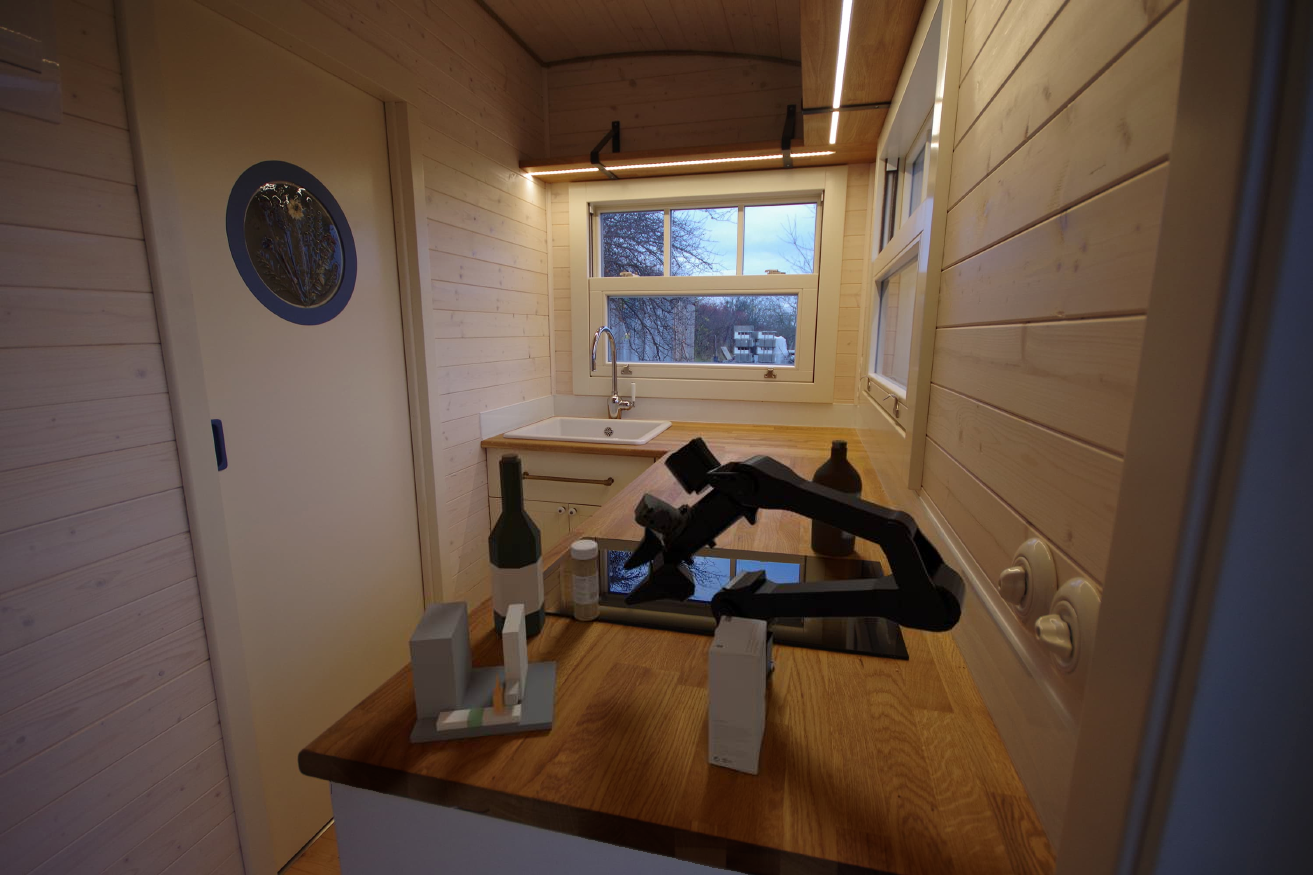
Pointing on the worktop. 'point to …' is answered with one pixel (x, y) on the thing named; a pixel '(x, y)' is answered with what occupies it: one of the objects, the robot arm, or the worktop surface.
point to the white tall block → (515, 654)
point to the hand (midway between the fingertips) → (625, 584)
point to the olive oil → (845, 480)
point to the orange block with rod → (498, 697)
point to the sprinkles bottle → (585, 579)
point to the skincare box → (737, 693)
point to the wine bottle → (516, 554)
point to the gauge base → (468, 683)
